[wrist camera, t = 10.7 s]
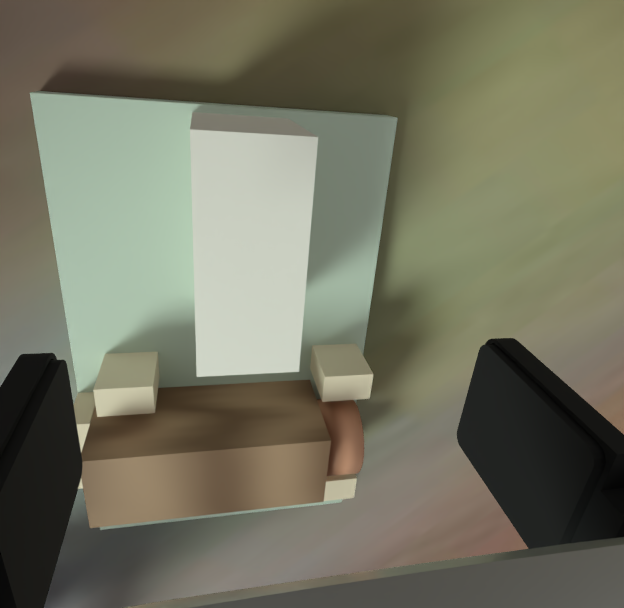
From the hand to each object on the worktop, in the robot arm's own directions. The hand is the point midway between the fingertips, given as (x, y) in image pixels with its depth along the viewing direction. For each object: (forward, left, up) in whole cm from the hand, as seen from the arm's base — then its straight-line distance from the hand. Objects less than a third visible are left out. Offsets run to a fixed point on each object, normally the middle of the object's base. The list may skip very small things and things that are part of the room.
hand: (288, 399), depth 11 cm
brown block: (-1, -11, -13) cm, 17 cm away
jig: (-1, -7, -14) cm, 16 cm away
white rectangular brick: (0, 0, -13) cm, 13 cm away
